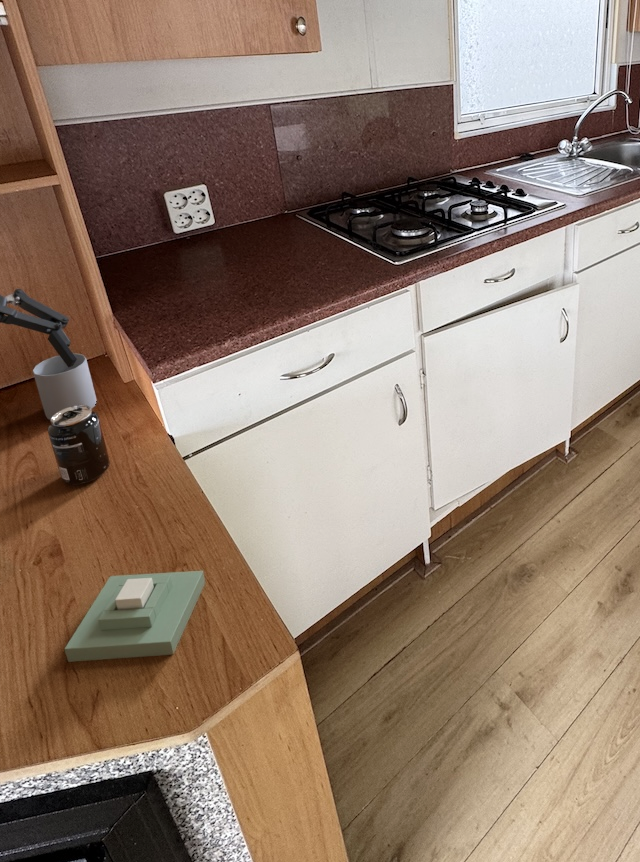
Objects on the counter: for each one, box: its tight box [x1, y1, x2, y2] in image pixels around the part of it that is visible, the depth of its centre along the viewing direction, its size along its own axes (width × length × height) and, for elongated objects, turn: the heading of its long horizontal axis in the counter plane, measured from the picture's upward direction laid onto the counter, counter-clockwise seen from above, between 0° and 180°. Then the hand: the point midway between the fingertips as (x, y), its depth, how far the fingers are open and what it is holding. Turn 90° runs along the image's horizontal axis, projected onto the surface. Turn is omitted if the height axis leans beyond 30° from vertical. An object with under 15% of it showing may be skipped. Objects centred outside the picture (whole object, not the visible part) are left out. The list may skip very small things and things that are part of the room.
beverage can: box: [47, 405, 111, 485], centre depth 96 cm, size 7×7×12 cm
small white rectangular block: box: [115, 578, 154, 610], centre depth 72 cm, size 3×3×2 cm
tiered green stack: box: [63, 570, 206, 663], centre depth 73 cm, size 12×10×4 cm
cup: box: [32, 353, 98, 420], centre depth 114 cm, size 8×8×10 cm
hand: (30, 382), depth 97 cm, fingers open, 13 cm apart
